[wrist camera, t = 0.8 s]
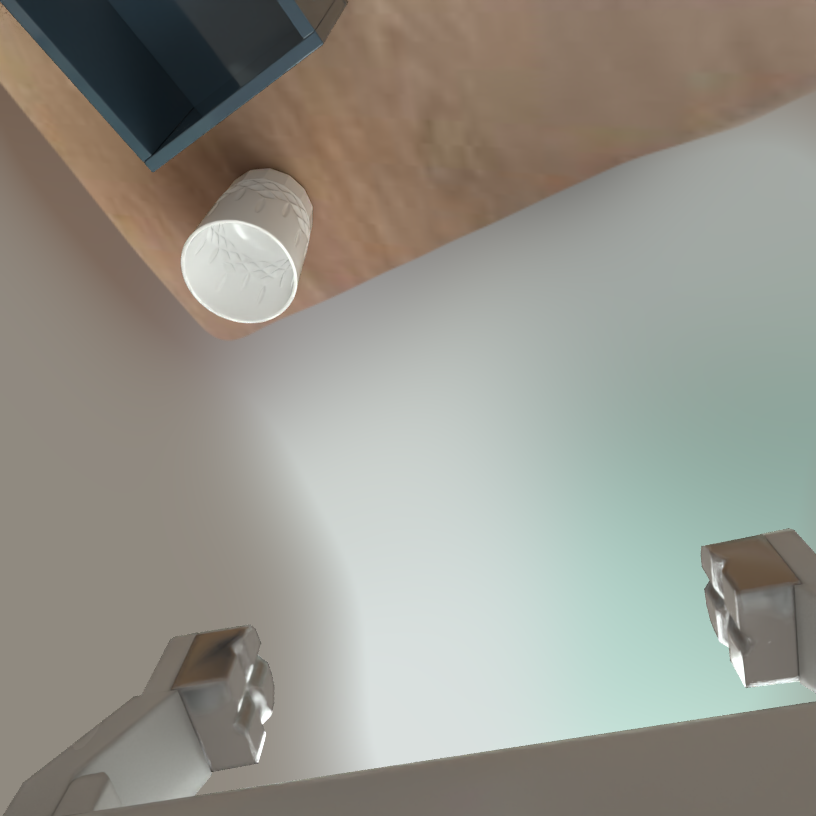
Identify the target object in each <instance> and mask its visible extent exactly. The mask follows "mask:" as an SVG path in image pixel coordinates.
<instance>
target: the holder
mask: <svg viewBox="0 0 816 816" xmlns="http://www.w3.org/2000/svg"><path fill="white" fill-rule="evenodd" d="M0 2H1V3H2V4H3V5H4V6H5V8H6V9H7V10H8V11H9V12H10V13H11V14H12V15H13V17H14V18H15V19H16V20H17V21H18V22H19V23H20V24H21V26H22V27H23V28H24V29H25V30H26V31H27V32H28V33H29V34H30V36H31V37H32V38H33V39H34V40H35V41H36V42H37V43H38V45H39V46H40V47H41V48H42V49H43V50H44V51H45V52H46V54H47V55H48V56H49V57H50V58H51V59H52V60H53V61H54V63H55V64H56V65H57V66H58V67H59V68H60V69H61V70H62V72H63V73H64V74H65V75H66V76H67V77H68V78H69V79H70V80H71V82H72V83H73V84H74V85H75V86H76V87H77V88H78V89H79V91H80V92H81V93H82V94H83V95H84V96H85V97H86V98H87V100H88V101H89V102H90V103H91V104H92V105H93V106H94V107H95V109H96V110H97V111H98V112H99V113H100V114H101V115H102V116H103V118H104V119H105V120H106V121H107V122H108V123H109V124H110V125H111V127H112V128H113V129H114V130H115V131H116V132H117V133H118V134H119V135H120V137H121V138H122V139H123V140H124V141H125V142H126V143H127V144H128V146H129V147H130V148H131V149H132V150H133V151H134V152H135V153H136V155H137V156H138V157H139V158H140V159H141V160H142V161H143V162H144V161H145V162H144V163H145V165H146V166H147V167H148V168H149V169H150V170H151V171H152V172H155V171H156V170H157V169H159V168H160V167H161V166H163V165H164V164H165V163H167V162H168V161H169V160H171V159H172V158H173V157H175V156H176V155H177V154H179V153H180V152H181V151H183V150H184V149H185V148H187V147H188V146H189V145H191V144H192V143H193V142H195V141H196V140H197V139H199V138H200V137H201V136H203V135H204V134H205V133H206V132H208V131H209V130H210V129H212V128H213V127H214V126H216V125H217V124H218V123H220V122H221V121H222V120H224V119H225V118H226V117H228V116H229V115H230V114H232V113H233V112H234V111H236V110H237V109H238V108H240V107H241V106H242V105H244V104H245V103H246V102H248V101H249V100H250V99H252V98H253V97H254V96H256V95H257V94H258V93H260V92H261V91H262V90H264V89H265V88H266V87H268V86H269V85H270V84H271V83H273V82H274V81H275V80H277V79H278V78H279V77H281V76H282V75H283V74H285V73H286V72H287V71H289V70H290V69H291V68H293V67H294V66H295V65H297V64H298V63H299V62H301V61H302V60H303V59H305V58H306V57H307V56H309V55H310V54H311V53H313V52H314V51H315V50H317V49H318V48H319V47H321V46H322V45H323V44H324V42H325V40H326V39H327V37H328V35H329V34H330V32H331V30H332V29H333V27H334V25H335V24H336V22H337V20H338V18H339V17H340V15H341V13H342V12H343V10H344V8H345V7H346V5H347V3H348V1H347V0H0Z"/></svg>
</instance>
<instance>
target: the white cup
mask: <svg viewBox="0 0 816 816" xmlns="http://www.w3.org/2000/svg"><path fill="white" fill-rule="evenodd" d="M312 223H313V206H312V204H311V202H310V199H309V197H308V195H307V193H306V191H305V189H304V188H303V187H302V186H301V185H300V184H299V183H298V182H296V181H295V180H294V179H293V178H292V177H291V176H290V175H288V174H285V173H282V172H279V171H276V170H273V169H271V168H266V169H255V170H249V171H248V172H246V173H245V174H243V175H242V176H240V177H239V178H237V179H236V180H234V182H233V183H232V184H231V186H230V187H229V188H228V190H226V191H225V192H224V193H223V194H222V195H221V197H220V198H219V199H218V200H217V202H216V203H215V204H214V205H213V206H212V207H211V209H210V210H209V211H208V213H207V214H206V215H205V217H204V218H203V219H202V221H201V222H200V223H199V225H198V226H197V227H196V229H195V230H194V231H193V233H192V234H191V235H190V236H189V238H188V239H187V241H186V243H185V245H184V247H183V250H182V254H181V270H182V274H183V278H184V280H185V283H186V285H187V287H188V288H189V290H190V292H191V293H192V294H193V296H194V297H195V298H196V299H197V300H198V301H199V302H200V303H201V304H202V305H203V306H204V307H205V308H207V309H208V310H210V311H211V312H213V313H214V314H216V315H218V316H220V317H222V318H225V319H228V320H231V321H235V322H240V323H259V322H264V321H268V320H270V319H273V318H275V317H277V316H278V315H280V314H281V313H282V312H284V311H285V310H286V309H287V308H288V306H289V305H290V304H291V302H292V300H293V298H294V296H295V293H296V290H297V286H298V282H299V279H300V275H301V272H302V268H303V264H304V261H305V257H306V253H307V248H308V244H309V238H310V232H311V229H312Z"/></svg>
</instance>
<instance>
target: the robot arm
mask: <svg viewBox="0 0 816 816" xmlns="http://www.w3.org/2000/svg"><path fill="white" fill-rule="evenodd" d="M701 562H702V568H703V570H704V571H705V573H706V574H707V576H708V578H709V580H710V581H709V582H708V584H707V586H706V587H705V589H704V590H705V597H706V605H707V609H708V613H709V617H710V621H711V623H712V626H713V628H714V631H715V633H716V635H717V637H718V639H719V641H720V642H721V643H722V644H724V645H726V646H728V647H729V653H730V661H731V662H732V664H733V666H734V668H735V670H736V671H737V673H738V675H739V676H740V678H741V680H742V682H743V684H744V686H745V687H746V688H748V687H756V686H764V685H772V684H779V683H787V682H795V681H800V683H801V684H802V685H804V686H805V687H807V688H808V689H810V690H812V691H813V692H815V693H816V554H815V553H814V551H813V550H812V549H811V548H810V547H809V546H808V545H807V544H806V543H805V542H804V540H803V539H802V538H801V537H800V536H799V535H798V534H797V533H796V532H795V530H792V529H789V528H788V529H783V530H778V531H774V532H769V533H764V534H760V535H756V536H752V537H746V538H741V539H737V540H731V541H726V542H721V543H716V544H710V545H706V546H702V547H701ZM260 645H261V641H260V639H259V637H258V634H257V631H256V629H255V628H254V627H253V626H251V625H244V626H238V627H231V628H225V629H218V630H212V631H206V632H200V633H192V634H187V635H181V636H176V637H174V638H172V639H171V640H170V641H169V643H168V645H167V647H166V648H165V650H164V652H163V655H162V656H161V658H160V660H159V662H158V664H157V666H156V668H155V670H154V672H153V674H152V676H151V678H150V680H149V682H148V684H147V686H146V687H145V689H144V692H143V693H142V695H141V696H135V697H133V698H131V699H130V700H129V701H128V702H126V703H125V704H124V705H122V706H121V707H120V708H119V709H117V710H116V711H115V712H114V713H112V714H111V715H110V716H108V717H107V718H106V719H104V720H103V721H102V722H101V723H99V724H98V725H97V726H95V727H94V728H93V729H92V730H90V731H89V732H88V733H86V734H85V735H84V736H83V737H81V738H80V739H79V740H77V741H76V742H75V743H74V744H72V745H71V746H70V747H69V748H67V749H66V750H65V751H64V752H62V753H61V754H59V755H58V756H57V757H56V758H54V759H53V760H52V761H50V762H49V763H48V764H47V765H45V766H44V767H43V768H42V769H40V770H39V771H38V772H36V773H35V774H34V775H32V776H31V777H30V778H29V779H27V780H26V781H25V782H23V784H22V785H21V787H20V789H19V790H18V792H17V793H16V795H15V797H14V798H13V800H12V802H11V803H10V805H9V806H8V808H7V810H6V811H5V813H4V814H3V816H816V702H809V703H802V704H796V705H789V706H783V707H776V708H769V709H763V710H756V711H750V712H743V713H737V714H730V715H723V716H717V717H710V718H704V719H697V720H690V721H684V722H677V723H671V724H664V725H657V726H652V727H644V728H638V729H631V730H625V731H618V732H612V733H606V734H598V735H592V736H585V737H579V738H572V739H566V740H559V741H552V742H546V743H540V744H533V745H526V746H519V747H513V748H506V749H500V750H494V751H486V752H480V753H474V754H467V755H460V756H454V757H447V758H440V759H434V760H428V761H421V762H414V763H408V764H401V765H394V766H388V767H381V768H374V769H368V770H361V771H355V772H348V773H342V774H335V775H329V776H322V777H315V778H309V779H302V780H295V781H289V782H282V783H276V784H269V785H263V786H256V787H249V788H243V789H237V790H230V791H223V792H216V793H210V794H203V795H197V796H194V795H195V794H196V793H197V792H198V791H199V789H200V788H201V787H202V786H203V784H204V783H205V782H206V781H207V780H208V779H209V777H210V776H211V775H212V773H211V772H214V771H219V770H225V769H230V768H236V767H241V766H246V765H252V764H258V761H259V758H260V754H261V750H262V747H263V743H264V740H265V736H266V733H265V730H264V728H263V725H262V724H263V723H264V722H265V721H266V720H267V719H268V718H269V717H270V716H271V714H272V710H273V706H274V682H273V677H272V673H271V670H270V667H269V664H268V662H266V661H265V660H263V659H262V658H261V657H260V656H258V652H259V648H260Z"/></svg>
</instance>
